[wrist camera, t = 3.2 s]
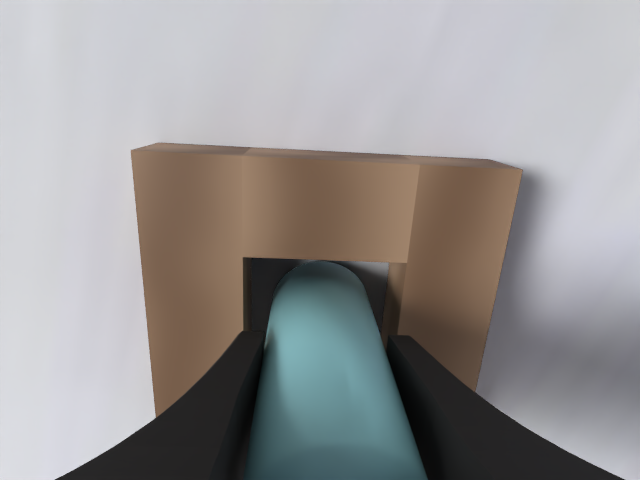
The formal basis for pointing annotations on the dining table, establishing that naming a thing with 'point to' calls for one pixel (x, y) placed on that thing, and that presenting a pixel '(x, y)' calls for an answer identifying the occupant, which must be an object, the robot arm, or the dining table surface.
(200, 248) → the holder
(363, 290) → the peg
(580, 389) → the dining table surface
